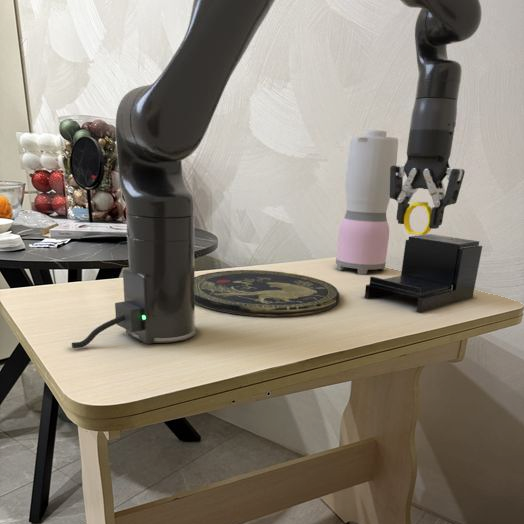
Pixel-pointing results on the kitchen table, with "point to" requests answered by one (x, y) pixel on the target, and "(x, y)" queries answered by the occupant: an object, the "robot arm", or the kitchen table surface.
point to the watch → (407, 217)
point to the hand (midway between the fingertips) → (417, 225)
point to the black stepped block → (433, 271)
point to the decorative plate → (264, 293)
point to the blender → (367, 202)
